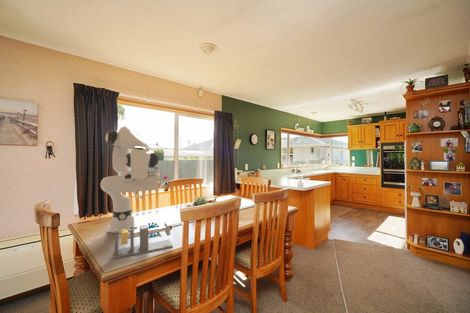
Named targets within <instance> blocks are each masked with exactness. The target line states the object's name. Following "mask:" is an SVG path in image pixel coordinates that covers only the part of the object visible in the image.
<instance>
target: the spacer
mask: <svg viewBox="0 0 470 313" xmlns="http://www.w3.org/2000/svg"><path fill="white" fill-rule="evenodd" d="M120 234H121V239H120V240H121V241H120V242H121V243H120V245H121V246H123V245H128V240H129V239H128V238H129V237H128V235H127V228H126V229H121V233H120Z"/></svg>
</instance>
